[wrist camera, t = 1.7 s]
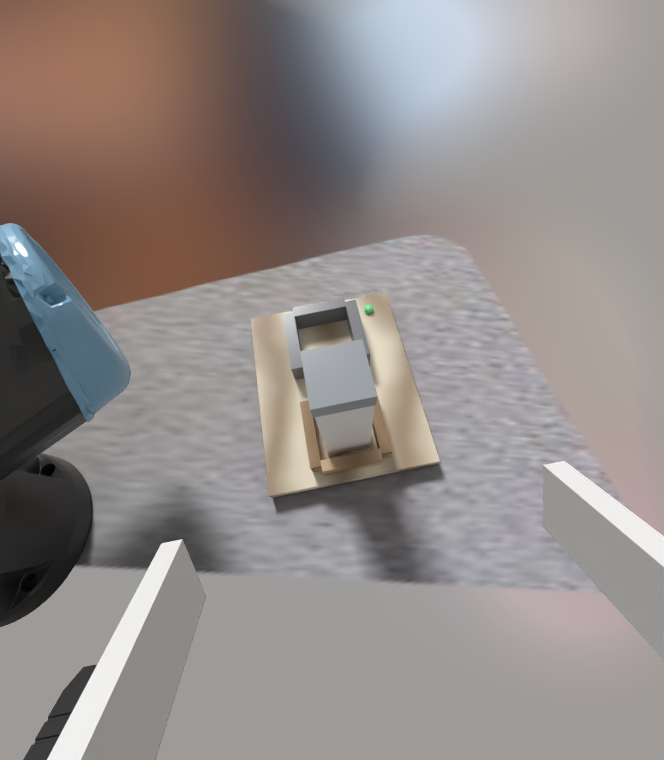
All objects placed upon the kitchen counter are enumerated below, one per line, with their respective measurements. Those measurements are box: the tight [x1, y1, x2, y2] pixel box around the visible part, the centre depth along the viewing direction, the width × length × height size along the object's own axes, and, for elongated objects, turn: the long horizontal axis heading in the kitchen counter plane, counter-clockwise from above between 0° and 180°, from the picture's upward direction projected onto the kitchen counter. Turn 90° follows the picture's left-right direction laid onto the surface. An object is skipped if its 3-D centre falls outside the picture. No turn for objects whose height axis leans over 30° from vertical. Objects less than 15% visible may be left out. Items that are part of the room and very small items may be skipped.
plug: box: [300, 339, 377, 456], centre depth 28 cm, size 4×4×13 cm
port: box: [283, 297, 373, 380], centre depth 37 cm, size 10×8×2 cm
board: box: [251, 292, 440, 498], centre depth 37 cm, size 16×20×1 cm
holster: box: [300, 388, 392, 476], centre depth 33 cm, size 7×7×2 cm
